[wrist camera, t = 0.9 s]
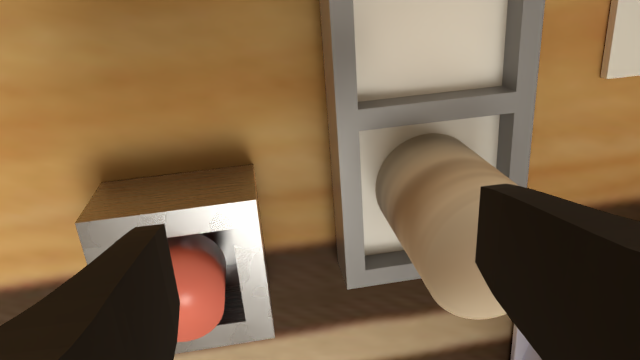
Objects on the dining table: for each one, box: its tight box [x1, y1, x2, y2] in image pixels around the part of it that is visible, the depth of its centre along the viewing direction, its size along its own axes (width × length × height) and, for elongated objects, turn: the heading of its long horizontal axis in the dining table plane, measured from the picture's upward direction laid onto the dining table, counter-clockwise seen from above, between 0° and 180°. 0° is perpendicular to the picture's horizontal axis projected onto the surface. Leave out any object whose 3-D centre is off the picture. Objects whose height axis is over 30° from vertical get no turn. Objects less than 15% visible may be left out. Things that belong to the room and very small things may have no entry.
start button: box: [167, 234, 226, 342], centre depth 18 cm, size 3×3×2 cm
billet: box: [375, 133, 518, 319], centre depth 18 cm, size 4×4×6 cm
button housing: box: [75, 164, 275, 354], centre depth 20 cm, size 6×6×4 cm
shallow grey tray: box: [319, 0, 545, 289], centre depth 19 cm, size 14×8×2 cm, turn 5°
